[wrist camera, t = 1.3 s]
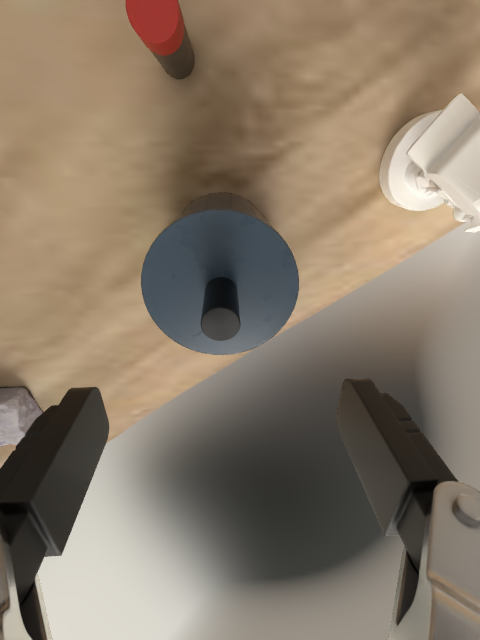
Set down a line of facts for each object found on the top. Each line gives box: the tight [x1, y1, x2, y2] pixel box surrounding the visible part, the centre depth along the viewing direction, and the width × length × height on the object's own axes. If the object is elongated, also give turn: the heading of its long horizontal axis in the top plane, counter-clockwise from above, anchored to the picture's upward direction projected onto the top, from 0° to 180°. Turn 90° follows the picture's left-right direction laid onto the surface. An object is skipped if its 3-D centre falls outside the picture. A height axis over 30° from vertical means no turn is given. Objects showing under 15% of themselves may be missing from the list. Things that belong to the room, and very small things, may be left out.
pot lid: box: [141, 208, 299, 355], centre depth 21 cm, size 12×12×6 cm
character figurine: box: [379, 93, 480, 232], centre depth 25 cm, size 9×10×12 cm
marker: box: [126, 0, 194, 79], centre depth 21 cm, size 3×3×10 cm
